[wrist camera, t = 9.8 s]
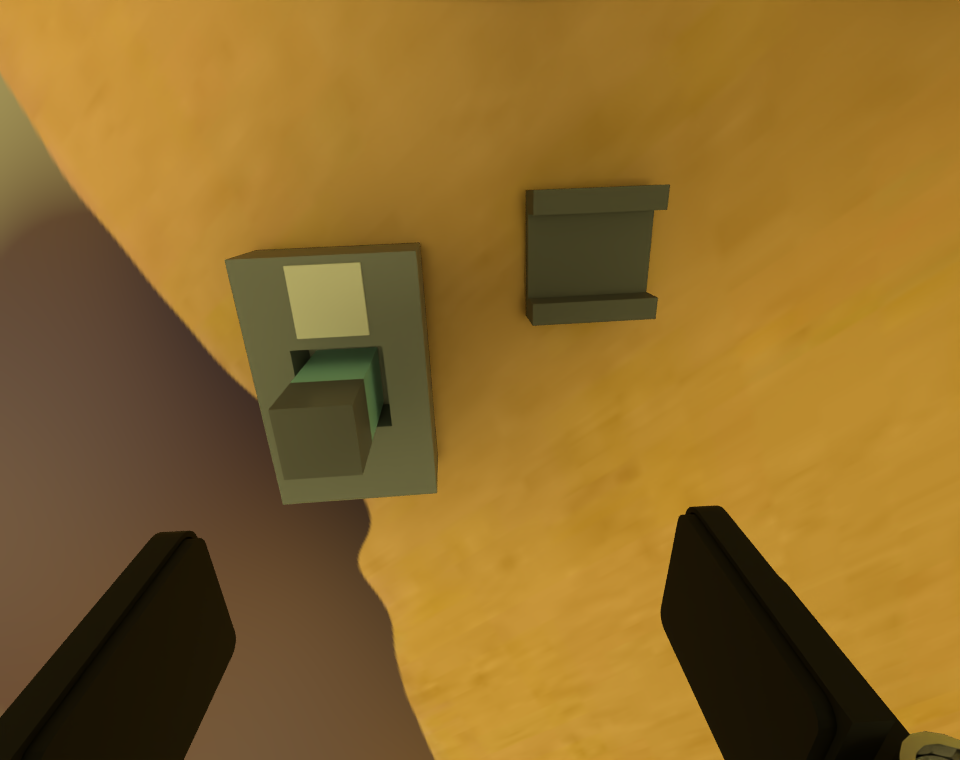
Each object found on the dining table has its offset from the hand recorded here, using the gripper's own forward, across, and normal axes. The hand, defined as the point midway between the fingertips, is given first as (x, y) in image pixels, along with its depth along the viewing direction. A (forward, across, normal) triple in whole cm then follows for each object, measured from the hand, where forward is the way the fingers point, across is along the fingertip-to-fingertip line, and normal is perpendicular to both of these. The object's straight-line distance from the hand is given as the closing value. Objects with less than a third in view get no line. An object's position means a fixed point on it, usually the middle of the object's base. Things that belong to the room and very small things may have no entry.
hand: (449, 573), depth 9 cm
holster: (+20, -8, -3) cm, 22 cm away
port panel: (+20, +6, +3) cm, 21 cm away
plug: (+19, +6, +4) cm, 20 cm away
